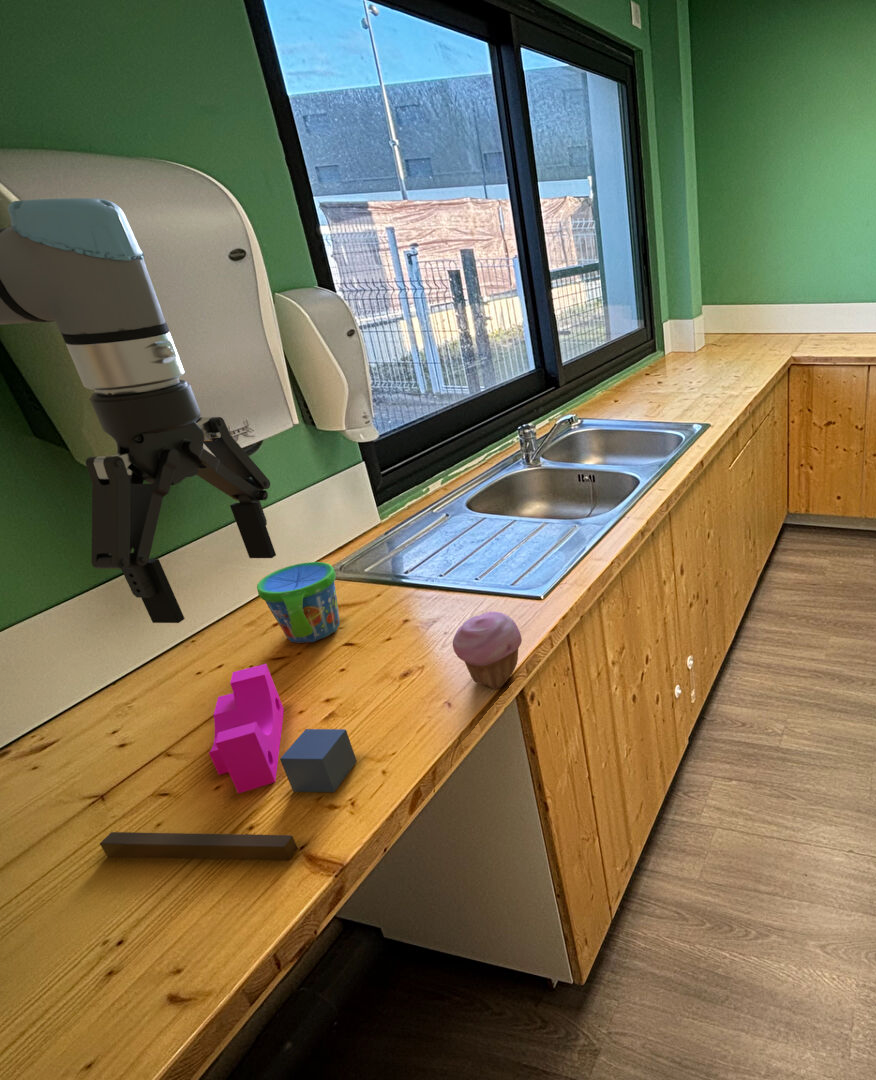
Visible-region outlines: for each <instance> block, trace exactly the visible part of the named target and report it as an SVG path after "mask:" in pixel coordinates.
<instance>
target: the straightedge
mask: <svg viewBox="0 0 876 1080" xmlns="http://www.w3.org/2000/svg"><path fill="white" fill-rule="evenodd" d="M99 845H100V847H101V848H102V850H103V852H104V854H105V856H106V857H107V858H142V859H143V858H149V859H151V858H153V859H196V860H199V859H200V860H203V859H205V860H244V861H245V860H246V861H247V860H248V861H249V860H250V861H251V860H253V861H255V860H256V861H290V860H291V859H292V858H293V856H294V855H295V854H296V852H297V851H298V849H299V848H298V846H297V843H296V841H295V839H294V836H293V835H292V834H248V833H247V834H246V833H245V834H244V833H243V834H242V833H241V834H239V833H238V834H237V833H191V832H190V833H185V832H184V833H183V832H182V833H181V832H127V831H125V832H124V831H123V832H122V831H114V832H113V831H111V832H109V833H108V835H106V836H105V838H103V840H102V841H100V842H99Z"/></svg>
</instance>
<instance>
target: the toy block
mask: <svg viewBox="0 0 876 1080" xmlns="http://www.w3.org/2000/svg"><path fill="white" fill-rule="evenodd" d="M269 669H270V668H269V667H268V664H267V663H263V664H260V665H259V664H258V665H255V666H251V667H247V668H243V669H239V670H236V671H232V674H231V678H230V681H229V682H230V683H229V685H230V687H231V690H232V692H231V693H227V694H224V695H220V696H218V697H217V700H216V704H215V708H214V712H213V723H214V724H213V725H214V738H213V743H212V747H211V748H210V751H208V755H209V758H210V759H211V761H212V763H213V766H214V768H215V770H216V772H217V775H218V776H221V775H223V774H227V773H228V774H229V776H230V778H231V781H232V783H233V785H234V787H235V789H236V792H237V794H242V793H245V792H248V791H252V790H254V789H258V788H261V787H264V786H268V785H271V784H275V783H276V781H277V771H278V763H279V755H280V748H281V747H280V746H281V738H282V731H283V730H282V729H283V721H284V713H285V708H284V706H283V703H282V700H281V698H280V696H279V693H278V690H277V688H276V685H275V682H274V680H273V678H272V675H271V672H270V670H269Z"/></svg>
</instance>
